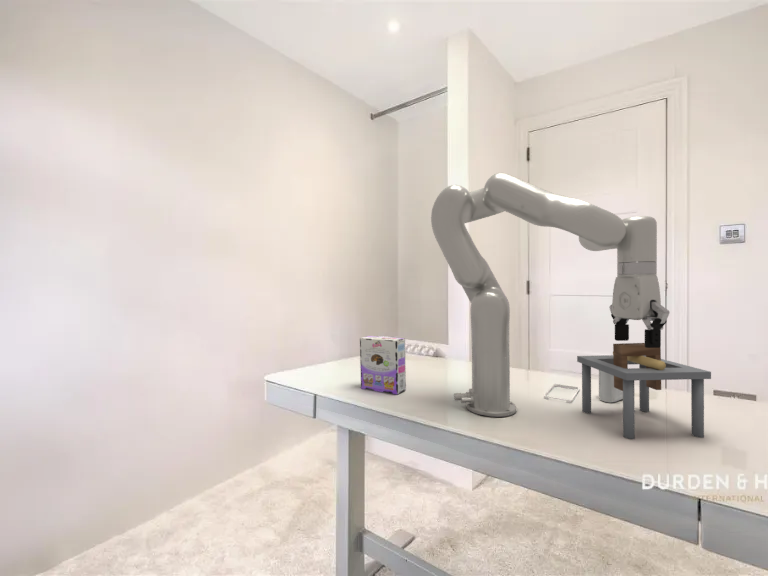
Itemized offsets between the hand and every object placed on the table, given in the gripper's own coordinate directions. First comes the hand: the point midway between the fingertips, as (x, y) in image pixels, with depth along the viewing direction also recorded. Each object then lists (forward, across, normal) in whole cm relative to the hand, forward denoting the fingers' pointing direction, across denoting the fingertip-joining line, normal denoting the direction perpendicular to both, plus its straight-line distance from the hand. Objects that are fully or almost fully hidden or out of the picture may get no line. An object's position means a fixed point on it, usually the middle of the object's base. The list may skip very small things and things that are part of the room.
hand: (636, 343), depth 83 cm
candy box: (+19, -30, -59) cm, 69 cm away
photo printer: (+19, -17, +6) cm, 26 cm away
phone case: (+19, -22, -6) cm, 30 cm away
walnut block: (+10, 0, 0) cm, 11 cm away
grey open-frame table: (+18, 0, 0) cm, 19 cm away
